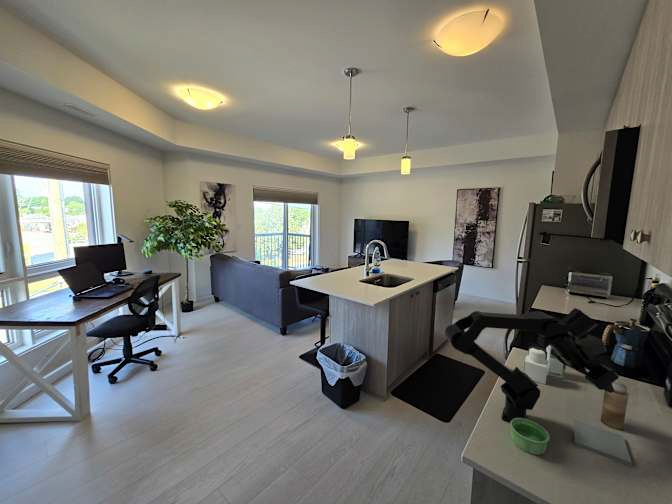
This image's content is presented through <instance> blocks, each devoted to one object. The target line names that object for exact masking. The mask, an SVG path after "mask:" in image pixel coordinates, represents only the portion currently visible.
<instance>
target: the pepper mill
mask: <svg viewBox="0 0 672 504" xmlns="http://www.w3.org/2000/svg"><path fill="white" fill-rule="evenodd" d="M612 385H613V388H614V392H612V393H610V392H607V391H605V390H604V394H603V400H602V406H601V414H600V422H601V423H602V424H603V425H605V426H606V427H608V428H611V429H613V430H617V431H618V430H619V431H621V430H622V431H623V429H624V425H625V418H626V412H627V407H628V402H629V401H628V400H629V393H628V392H627V390H628V386H627V385H626V384H624V383H622V382H619V381H617V380H615V381H614V382H613V383H612Z"/></svg>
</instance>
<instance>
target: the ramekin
mask: <svg viewBox="0 0 672 504" xmlns="http://www.w3.org/2000/svg"><path fill="white" fill-rule="evenodd" d="M509 423H510V422H509ZM509 426H510V437H511V440H512V442H513V443H514V444H515V445H516V446H517V447H518V448H519V449H521V450H522V451H524V452H526V453H528V454H531V455H539V456H540V455H542V454H545V452H546V451H547V446H548V443H549V442H550V434H549V432H548V431H547V430H546V429H545V428H544V427H543V426H541V425H540V424H539V423H537V422H535V421H533V420H530V419H529V418H527V419H524V418H515V419H513V420H511V423H510V425H509Z"/></svg>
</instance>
